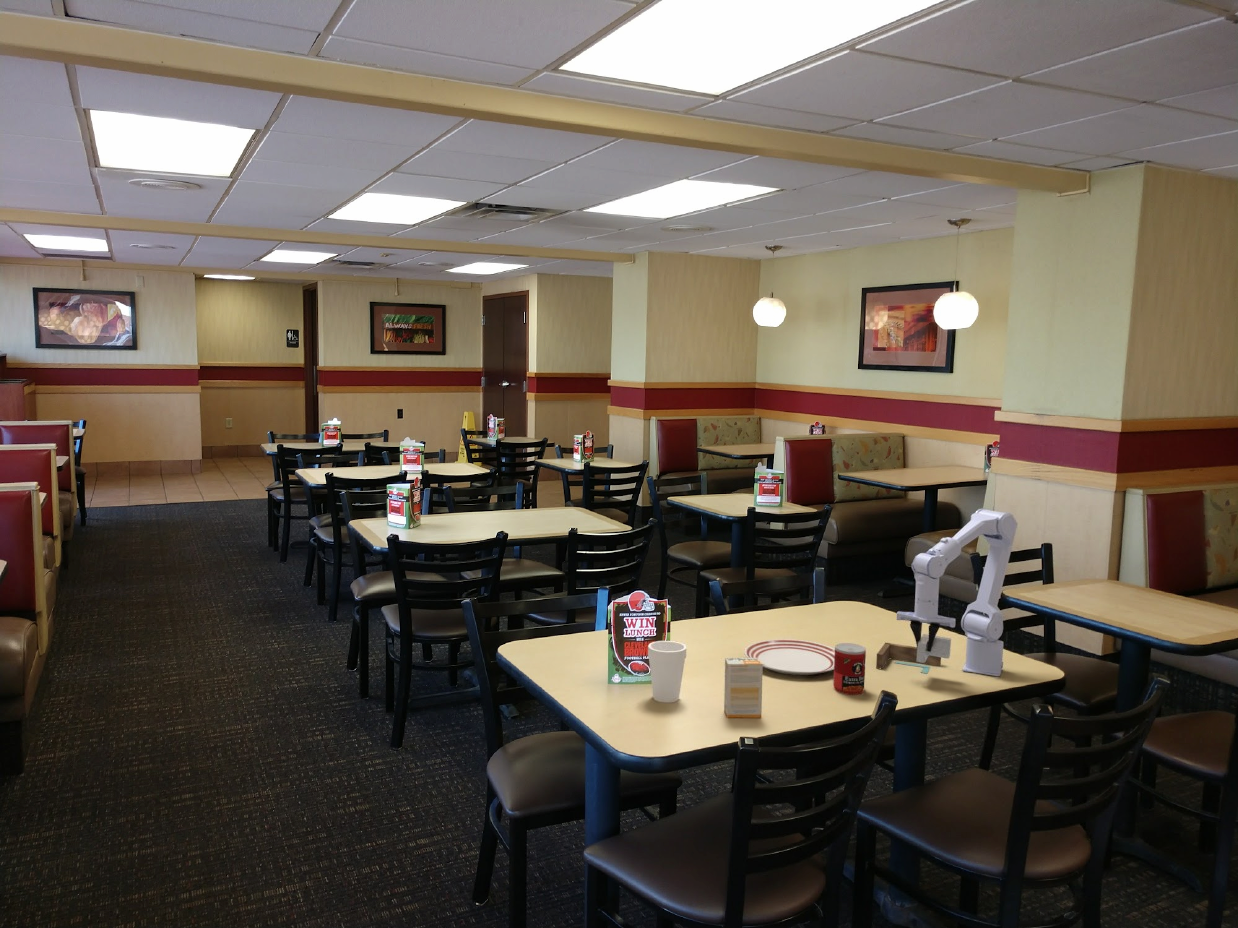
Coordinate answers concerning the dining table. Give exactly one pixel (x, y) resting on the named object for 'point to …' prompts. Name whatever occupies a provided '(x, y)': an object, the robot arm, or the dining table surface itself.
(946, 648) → the bracket
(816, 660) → the dinner plate
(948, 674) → the dining table surface
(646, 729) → the dining table surface
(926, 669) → the pose mark
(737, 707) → the supplement box
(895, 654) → the brown wooden l-shape
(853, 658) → the canned food
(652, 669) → the foam cup
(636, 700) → the dining table surface
